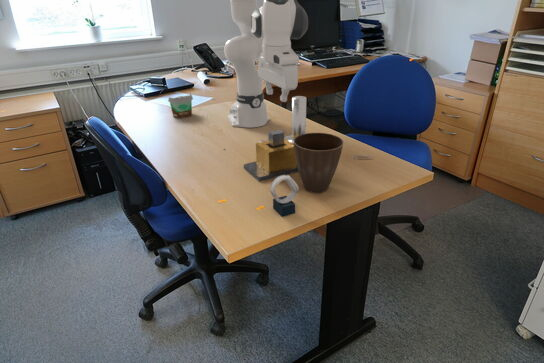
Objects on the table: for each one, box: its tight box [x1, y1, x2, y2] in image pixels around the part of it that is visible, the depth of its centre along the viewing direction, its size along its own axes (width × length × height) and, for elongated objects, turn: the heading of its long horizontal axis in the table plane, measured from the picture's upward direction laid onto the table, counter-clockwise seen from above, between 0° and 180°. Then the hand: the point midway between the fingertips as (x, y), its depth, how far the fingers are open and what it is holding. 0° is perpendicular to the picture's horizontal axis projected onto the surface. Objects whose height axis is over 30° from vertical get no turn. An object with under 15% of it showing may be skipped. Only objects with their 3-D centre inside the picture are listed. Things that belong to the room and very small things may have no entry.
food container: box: [167, 93, 194, 119], centre depth 191 cm, size 12×6×10 cm, turn 126°
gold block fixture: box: [243, 95, 307, 182], centre depth 136 cm, size 17×24×24 cm
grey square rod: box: [267, 129, 285, 148], centre depth 135 cm, size 3×4×12 cm, turn 121°
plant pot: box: [294, 132, 344, 194], centre depth 122 cm, size 15×15×16 cm
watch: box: [269, 174, 300, 218], centre depth 111 cm, size 6×8×11 cm
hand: (276, 97), depth 129 cm, fingers open, 8 cm apart
